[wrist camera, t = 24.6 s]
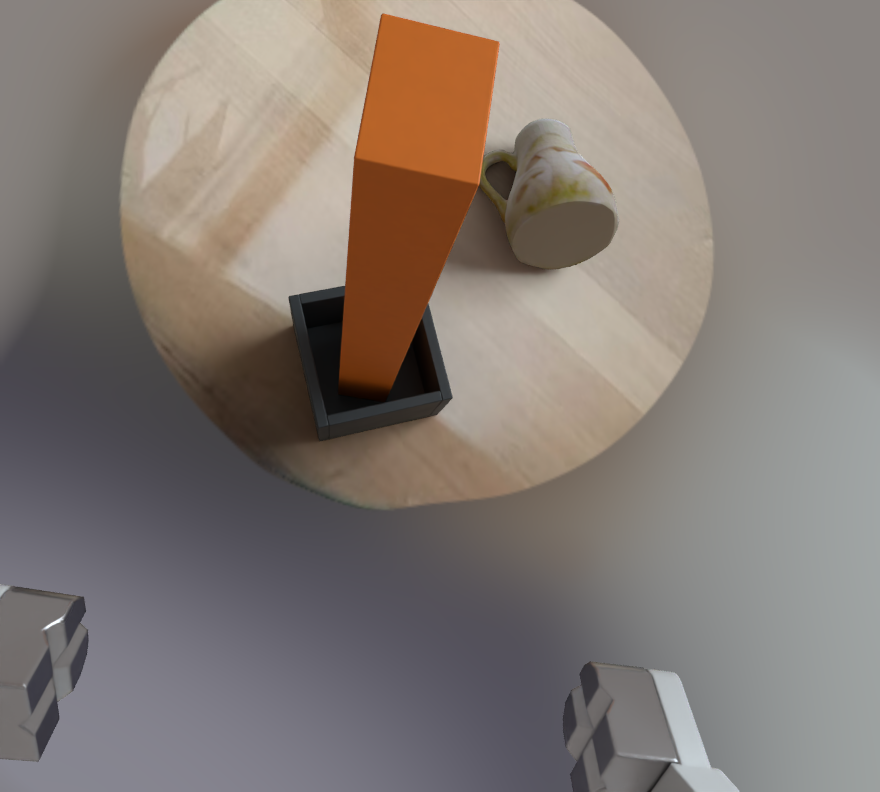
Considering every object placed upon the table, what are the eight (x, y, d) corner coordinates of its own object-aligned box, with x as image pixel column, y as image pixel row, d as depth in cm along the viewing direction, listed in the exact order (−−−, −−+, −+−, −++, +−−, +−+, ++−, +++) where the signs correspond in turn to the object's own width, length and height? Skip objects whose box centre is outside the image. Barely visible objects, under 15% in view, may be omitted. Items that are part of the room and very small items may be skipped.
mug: (574, 133, 50) (662, 124, 41) (546, 266, 53) (623, 285, 44) (483, 109, 47) (556, 94, 39) (457, 251, 50) (521, 268, 41)
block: (337, 394, 43) (354, 157, 16) (348, 333, 44) (381, 11, 17) (385, 402, 43) (479, 185, 16) (395, 342, 44) (500, 41, 17)
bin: (319, 441, 43) (318, 428, 38) (293, 325, 44) (288, 295, 39) (437, 414, 44) (452, 398, 39) (409, 302, 46) (420, 271, 40)
